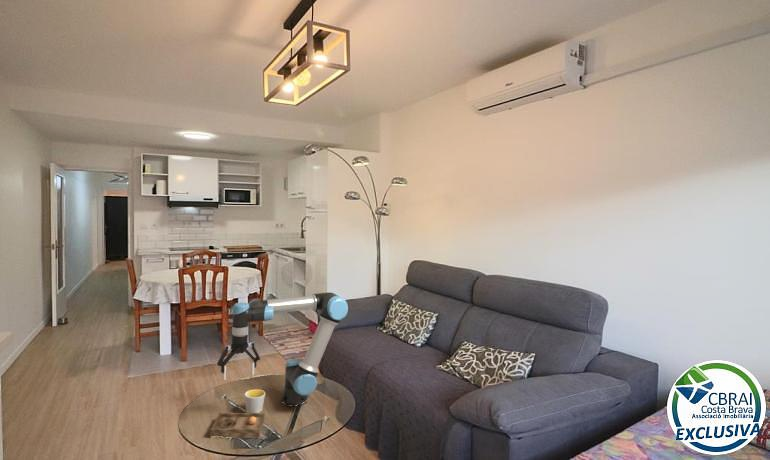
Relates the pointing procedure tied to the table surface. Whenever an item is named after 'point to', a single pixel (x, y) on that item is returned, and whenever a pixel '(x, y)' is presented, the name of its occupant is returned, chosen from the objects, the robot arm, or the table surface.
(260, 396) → the mug
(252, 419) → the ball
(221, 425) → the board
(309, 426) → the table surface
